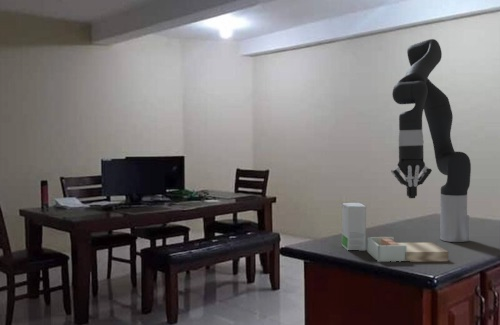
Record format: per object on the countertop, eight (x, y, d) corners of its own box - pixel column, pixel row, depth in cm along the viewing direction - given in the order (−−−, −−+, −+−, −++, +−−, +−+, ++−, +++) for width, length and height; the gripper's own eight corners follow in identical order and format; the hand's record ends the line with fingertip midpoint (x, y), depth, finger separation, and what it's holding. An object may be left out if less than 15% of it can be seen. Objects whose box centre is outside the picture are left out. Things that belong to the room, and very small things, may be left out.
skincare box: (341, 246, 175) (341, 202, 175) (359, 245, 176) (359, 202, 175) (348, 251, 167) (348, 205, 166) (366, 250, 168) (366, 205, 167)
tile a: (388, 238, 163) (381, 238, 163) (393, 241, 159) (385, 241, 159) (388, 251, 164) (381, 252, 163) (393, 254, 159) (385, 255, 159)
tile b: (395, 241, 158) (387, 241, 158) (398, 244, 154) (390, 244, 154) (395, 255, 158) (387, 255, 158) (398, 258, 154) (390, 258, 154)
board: (431, 251, 166) (431, 242, 166) (448, 261, 152) (448, 251, 152) (393, 251, 166) (393, 242, 166) (406, 261, 152) (406, 252, 152)
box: (393, 251, 166) (393, 236, 165) (406, 261, 152) (406, 245, 151) (367, 251, 166) (367, 237, 165) (378, 262, 152) (378, 246, 151)
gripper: (426, 143, 161) (427, 196, 162) (386, 144, 160) (387, 197, 161) (436, 143, 153) (436, 198, 154) (394, 145, 153) (395, 200, 154)
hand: (411, 198), depth 158 cm, fingers closed
